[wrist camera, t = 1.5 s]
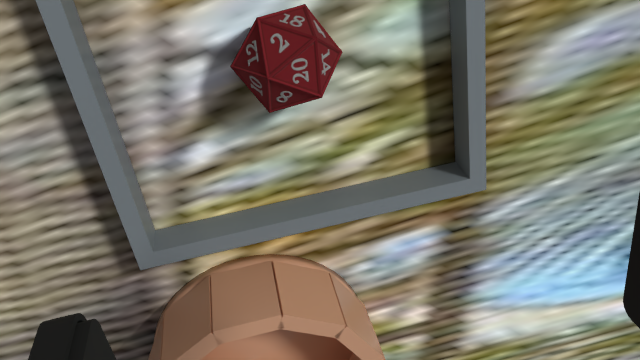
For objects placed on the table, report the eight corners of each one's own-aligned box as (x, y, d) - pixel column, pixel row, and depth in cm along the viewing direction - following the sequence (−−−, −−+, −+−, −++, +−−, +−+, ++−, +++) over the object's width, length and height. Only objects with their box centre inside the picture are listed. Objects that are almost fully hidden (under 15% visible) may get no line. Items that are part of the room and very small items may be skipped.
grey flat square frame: (462, -221, 21) (483, -228, 20) (470, 172, 29) (485, 189, 28) (-4, -144, 20) (-21, -145, 18) (143, 247, 28) (140, 270, 26)
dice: (335, 80, 26) (356, 114, 22) (234, 94, 25) (240, 131, 22) (329, -7, 24) (351, 15, 20) (220, 6, 23) (224, 31, 20)
